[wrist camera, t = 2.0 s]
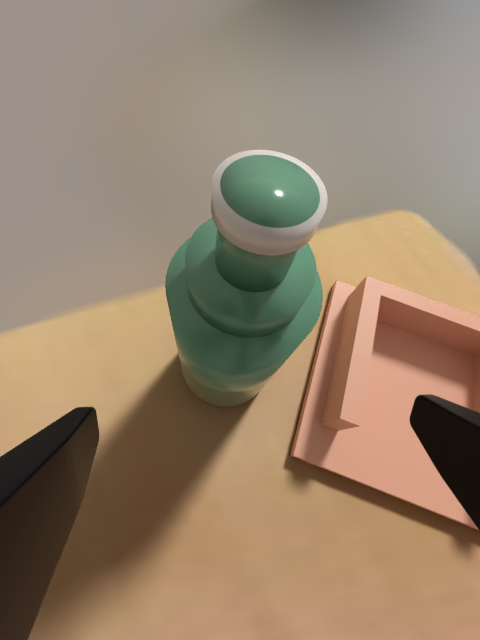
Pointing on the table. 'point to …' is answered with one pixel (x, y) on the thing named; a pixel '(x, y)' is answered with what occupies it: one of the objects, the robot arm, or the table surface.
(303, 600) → the table surface
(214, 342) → the bottle
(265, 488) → the table surface
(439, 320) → the u rest
